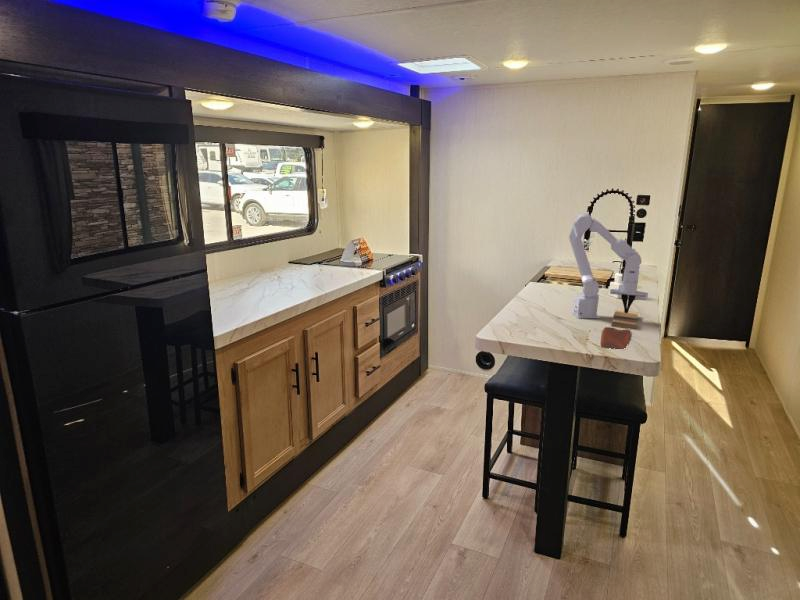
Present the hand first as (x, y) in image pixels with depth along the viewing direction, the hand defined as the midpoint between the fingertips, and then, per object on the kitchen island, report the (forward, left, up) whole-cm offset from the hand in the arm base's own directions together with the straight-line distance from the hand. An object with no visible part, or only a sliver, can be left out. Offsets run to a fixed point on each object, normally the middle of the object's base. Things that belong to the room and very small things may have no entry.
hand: (626, 312), depth 221 cm
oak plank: (+1, +2, -3) cm, 4 cm away
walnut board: (-4, -7, -3) cm, 9 cm away
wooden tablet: (-16, -25, -4) cm, 30 cm away
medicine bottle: (+16, +42, -4) cm, 45 cm away
